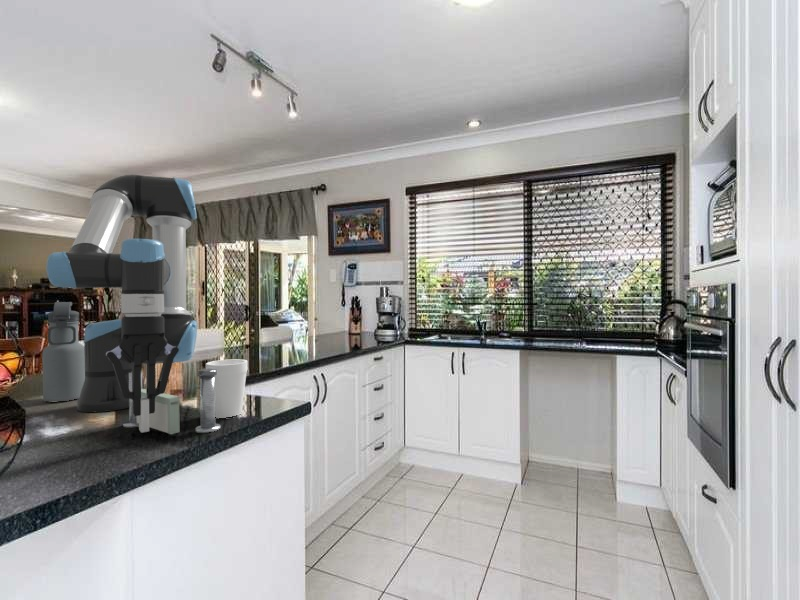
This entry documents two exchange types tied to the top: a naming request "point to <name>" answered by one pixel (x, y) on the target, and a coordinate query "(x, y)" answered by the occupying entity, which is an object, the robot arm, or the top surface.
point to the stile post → (207, 401)
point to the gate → (164, 413)
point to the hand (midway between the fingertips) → (144, 430)
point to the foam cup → (229, 386)
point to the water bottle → (63, 356)
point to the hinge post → (131, 407)
